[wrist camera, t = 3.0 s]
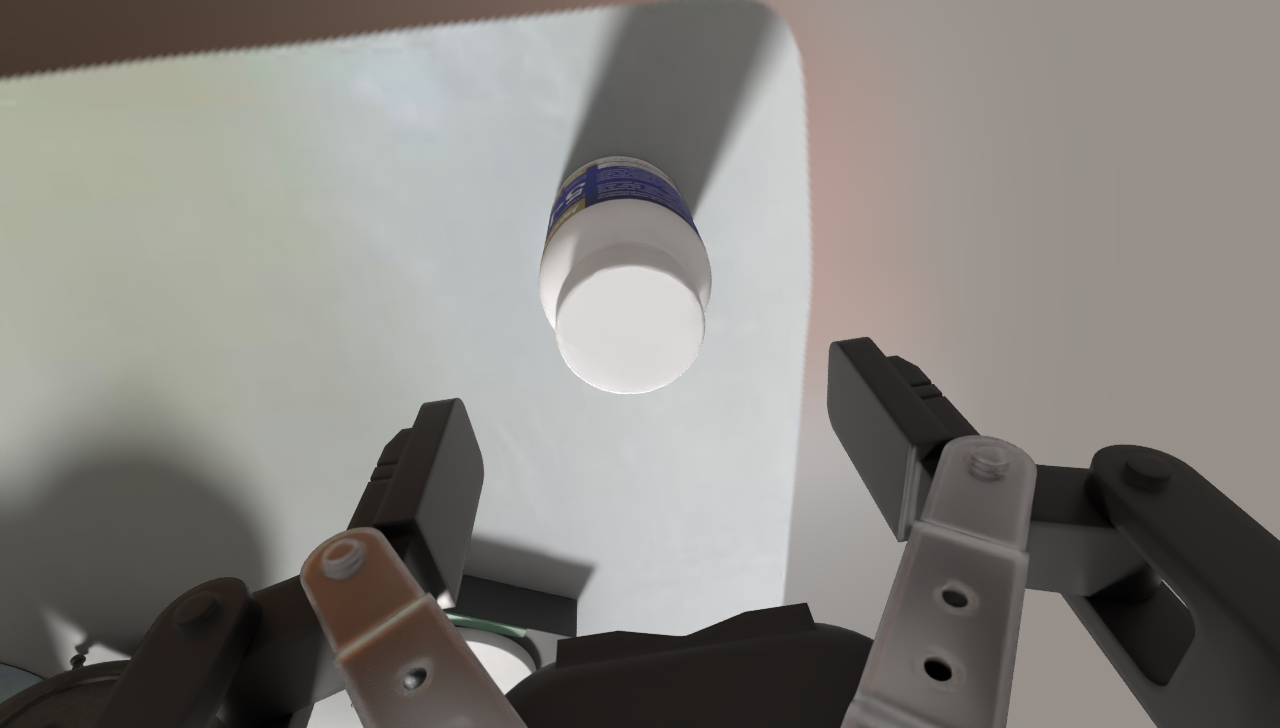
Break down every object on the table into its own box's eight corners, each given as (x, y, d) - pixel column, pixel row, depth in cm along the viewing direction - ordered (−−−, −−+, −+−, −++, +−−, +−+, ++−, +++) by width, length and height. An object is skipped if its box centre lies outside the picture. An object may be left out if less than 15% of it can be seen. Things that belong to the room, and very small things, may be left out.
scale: (401, 560, 32) (383, 613, 29) (577, 600, 34) (576, 651, 32) (363, 667, 36) (345, 721, 34) (522, 695, 39) (517, 747, 36)
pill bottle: (559, 141, 22) (542, 216, 14) (699, 168, 22) (756, 252, 15) (542, 277, 24) (521, 402, 17) (669, 296, 25) (703, 423, 17)
